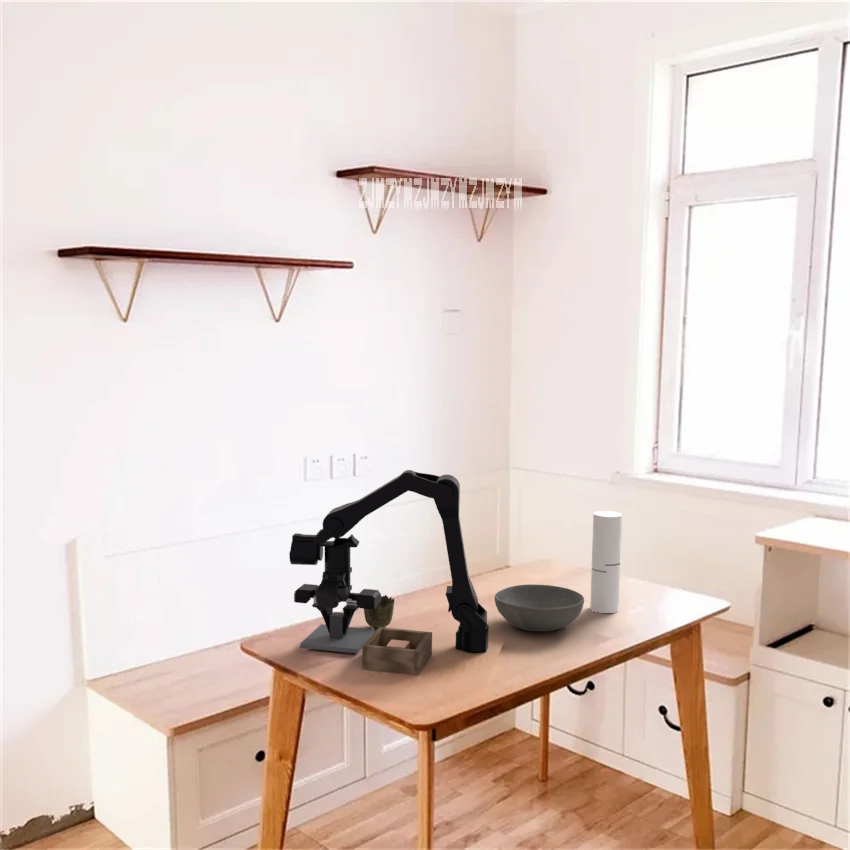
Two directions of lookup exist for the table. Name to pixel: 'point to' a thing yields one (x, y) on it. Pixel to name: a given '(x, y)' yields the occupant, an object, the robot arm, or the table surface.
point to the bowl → (539, 606)
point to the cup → (380, 613)
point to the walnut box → (397, 651)
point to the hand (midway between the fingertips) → (337, 633)
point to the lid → (337, 636)
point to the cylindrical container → (606, 561)
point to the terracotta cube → (399, 644)
